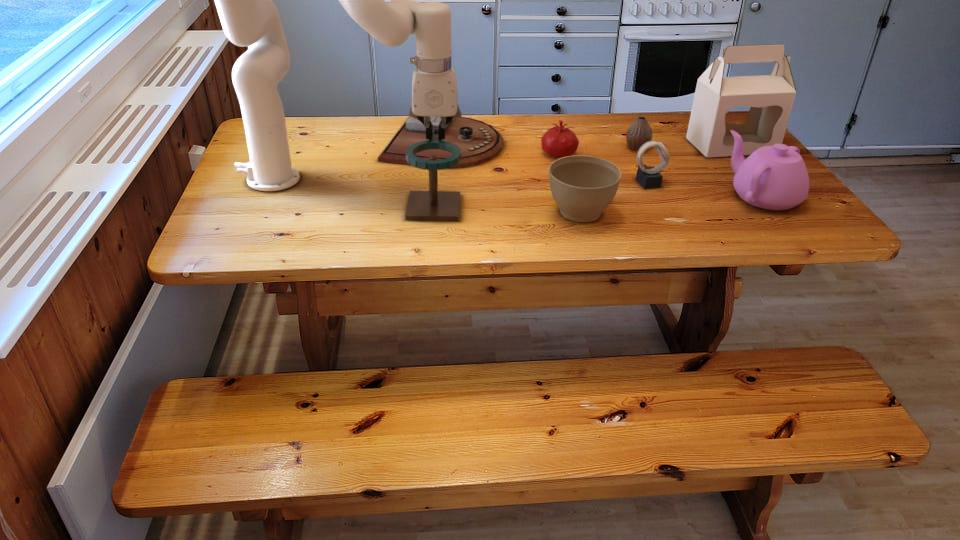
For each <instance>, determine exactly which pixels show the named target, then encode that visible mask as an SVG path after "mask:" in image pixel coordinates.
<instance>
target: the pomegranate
mask: <svg viewBox="0 0 960 540" xmlns="http://www.w3.org/2000/svg"><path fill="white" fill-rule="evenodd" d="M558 123H559V125H558V124H557V123H551V124H552V125H553V127H550V128H548V129H546V130H547V131H546V132H544V133H543V135H542V136H541V139H540V141H541V149H542V152H543V153H544V154H546V155H548V156H550V157H553V158H556V159H559V158H562V157H566V156H573V155H574V154H575V153H576V152H577V151H578V148H579V145H580V141H579V138H578V137H577V135H576V133H575V132H574V131H573V130H572V129H575V127H574V126H568V124H567V123H564V121H563V120H561V119H560V120H559V121H558ZM565 126H566V127H565ZM567 126H568V127H567ZM571 128H572V129H571Z"/></svg>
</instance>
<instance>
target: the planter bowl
mask: <svg viewBox="0 0 960 540" xmlns="http://www.w3.org/2000/svg"><path fill="white" fill-rule="evenodd" d="M548 175H549V176H548V178H549V179H548V182H549V190H550V194H551V196H552V198H553V201H554V202H555V204H556V205H557V207H558V208H559V212H560V214H561V216H562V217H563V218H565V219H567V220H570V221H572V222H578V223H591V222H594V221H596V220H598V219H599V218H600V217H601V216H602V213H603V212H604V211H605V210H606V209H607V208H608V207H609V206H610V205H611V203H612V202H613V200H614V199H615V196H616V195H617V192H618V189H619V185H620V182H621V180H622V171H621V169H620V168H619V167H618V165H616V164H615V163H614V162H611V161H609V160H607V159H605V158H601V157H598V156H592V155H586V154H577V155H574V154H573V155H571V156H566V157H562V158H556V160H554V161H552V162H551V163H550V165H549V166H548Z"/></svg>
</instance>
